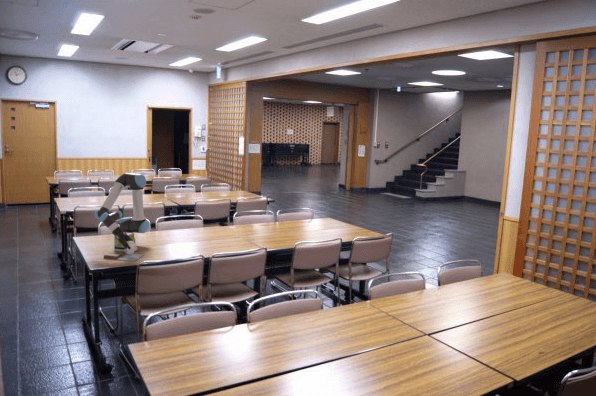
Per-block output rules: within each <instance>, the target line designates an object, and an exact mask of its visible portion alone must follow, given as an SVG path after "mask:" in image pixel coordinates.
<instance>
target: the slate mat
mask: <svg viewBox="0 0 596 396" xmlns="http://www.w3.org/2000/svg"><path fill="white" fill-rule="evenodd" d="M144 256H145V254H143V253H142V254H141V253H140V254H139V253H134V254H131V255H129V254H127V253H125V255H123V256H122V257H120V258H118V259H116V260H117V261H124V262H136V261H137V260H139V259H140V258H142V257H144Z"/></svg>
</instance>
